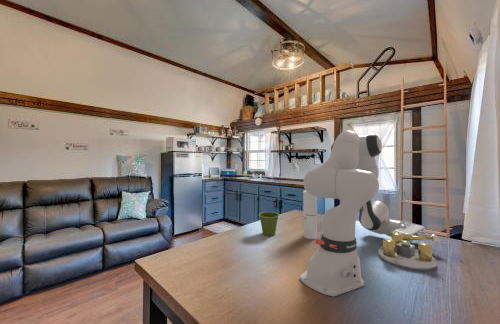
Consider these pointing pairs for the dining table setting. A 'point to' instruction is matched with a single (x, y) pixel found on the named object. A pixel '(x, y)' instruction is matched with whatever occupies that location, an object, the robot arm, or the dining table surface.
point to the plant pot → (268, 222)
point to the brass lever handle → (411, 237)
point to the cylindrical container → (309, 216)
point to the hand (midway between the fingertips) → (430, 236)
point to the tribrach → (408, 255)
